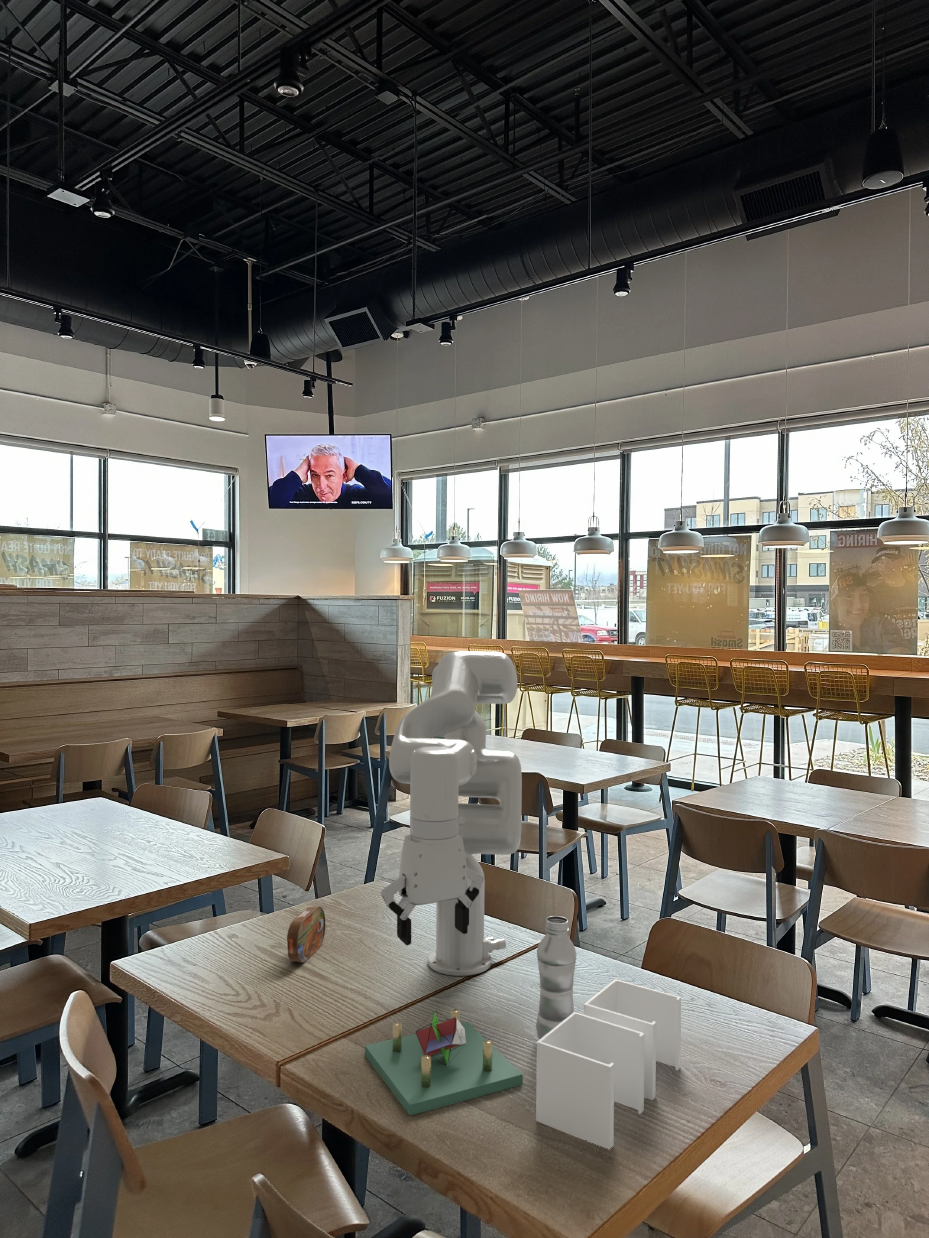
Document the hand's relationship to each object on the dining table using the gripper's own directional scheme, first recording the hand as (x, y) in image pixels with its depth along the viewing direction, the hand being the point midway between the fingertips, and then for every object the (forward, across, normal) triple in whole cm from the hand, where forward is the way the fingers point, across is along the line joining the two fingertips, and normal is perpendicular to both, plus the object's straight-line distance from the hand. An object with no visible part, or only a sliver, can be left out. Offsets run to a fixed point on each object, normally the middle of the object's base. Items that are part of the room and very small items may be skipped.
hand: (433, 936), depth 132 cm
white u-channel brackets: (+19, -19, +21) cm, 34 cm away
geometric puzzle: (+18, 0, +4) cm, 18 cm away
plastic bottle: (+19, -19, +5) cm, 28 cm away
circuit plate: (+19, +1, +4) cm, 19 cm away
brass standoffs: (+17, +1, +4) cm, 18 cm away
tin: (+20, +6, -48) cm, 52 cm away
